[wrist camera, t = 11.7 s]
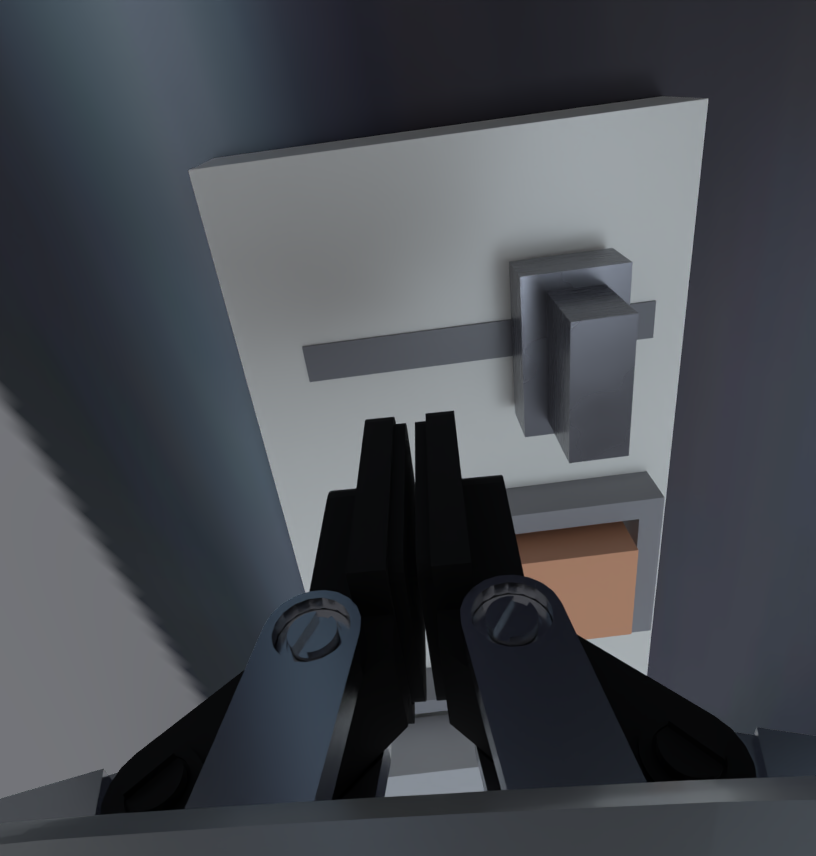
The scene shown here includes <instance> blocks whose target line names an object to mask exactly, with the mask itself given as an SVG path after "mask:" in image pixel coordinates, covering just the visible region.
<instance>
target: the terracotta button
mask: <svg viewBox="0 0 816 856" xmlns="http://www.w3.org/2000/svg"><path fill="white" fill-rule="evenodd" d="M515 535H516V539H517V544H518V549H519V554H520V558H521V563H522V568H523V573H524V576H525V577H530V578H532V579H534V580H537V581H539V582H542V583H543V584H545V585H546V586H547V587H549V588H550V589H551V590H553V591H554V592H555V594H556V595H557V597H558V598H559V599H560V601H561V602H562V604H563V606H564V608H565V610H566V613H567V615H568V617H569V619H570V621H571V623H572V625H573V627H574V629H575V632H576V634H577V635H579V636H581V637H582V638H584V639H594V638H603V637H611V636H620V635H628V634H632V623H633V611H634V599H635V587H636V575H637V563H638V551H639V550H638V548H637V546H636V545H635V543H634V541H633V539H632V537H631V536H630V534H629V532H628V530H627V528H626V527H625V525H624V523H623V521H619V522H611V523H603V524H595V525H587V526H578V527H570V528H562V529H554V530H546V531H538V532H530V533H521V534H515Z"/></svg>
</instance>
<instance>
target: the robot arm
mask: <svg viewBox="0 0 816 856" xmlns="http://www.w3.org/2000/svg"><path fill="white" fill-rule="evenodd" d="M425 417H426V421H421V422H415V479H414V472H413V465H412V458H411V451H410V444H409V437H408V430H407V425H406V423H401V424H396V421H395V418H394V417H385V418H375V419H366V420H365V424H364V432H363V439H362V447H361V455H360V463H359V471H358V479H357V487H356V488H355V489H344V490H333V491H330V492H329V493H328V496H327V501H326V506H325V511H324V516H323V522H322V527H321V532H320V538H319V543H318V548H317V553H316V559H315V564H314V569H313V575H312V580H311V585H310V590H309V592H306V593H303V594H300V595H297V596H295V597H293V598H291V599H290V600H288V601H286V602H284V603H283V604H281V605H280V606H279V607H278V608H277V609H276V610H275V611H274V612H273V613H272V614H271V615H270V617H269V618H268V620H267V622H266V623H265V625H264V627H263V629H262V631H261V634H260V636H259V638H258V640H257V643H256V645H255V647H254V650H253V652H252V654H251V657H250V659H249V661H248V663H247V666H246V668H245V670H244V671H242V672H241V673H240V674H239V675H237V676H236V677H235V678H233V679H232V680H231V681H230V682H228V683H227V684H226V685H224V686H223V687H222V688H220V689H219V690H218V691H217V692H215V693H214V694H213V695H211V696H210V697H209V698H208V699H206V700H205V701H204V702H202V703H201V704H200V705H198V706H197V707H196V708H195V709H193V710H192V711H191V712H190V713H188V714H187V715H186V716H184V717H183V718H182V719H180V720H179V721H178V722H177V723H175V724H174V725H173V726H172V727H170V728H169V729H167V730H166V731H165V732H164V733H162V734H161V735H160V736H158V737H157V738H156V739H155V740H153V741H152V742H151V743H149V744H148V745H147V746H146V747H144V748H143V749H142V750H140V751H139V752H138V753H136V754H135V755H134V756H133V757H132V758H131V759H130V760H129V761H128V762H127V763H126V764H125V765H124V766H123V767H122V768H121V769H120V770H119V772H118V773H115V774H112V775H108V774H107V773H106V771H105V770H104V769H101V770H97V771H94V772H90V773H87V774H84V775H80V776H77V777H74V778H70V779H66V780H63V781H59V782H56V783H53V784H49V785H46V786H42V787H39V788H35V789H32V790H28V791H25V792H21V793H18V794H15V795H11V796H8V797H4V798H1V799H0V856H816V736H813V735H807V734H800V733H793V732H786V731H779V730H772V729H766V728H759V727H756V731H755V734H754V735H751V734H744V733H738V732H734V731H733V730H732V729H731V728H730V727H728V726H727V725H726V724H724V723H723V722H722V721H720V720H719V719H718V718H716V717H715V716H714V715H712V714H710V713H709V712H707V711H705V710H704V709H702V708H700V707H698V706H697V705H695V704H693V703H692V702H690V701H688V700H687V699H685V698H683V697H682V696H680V695H678V694H677V693H675V692H673V691H672V690H670V689H668V688H667V687H665V686H663V685H661V684H660V683H658V682H656V681H655V680H653V679H651V678H650V677H648V676H646V675H645V674H643V673H641V672H640V671H638V670H636V669H635V668H633V667H631V666H629V665H628V664H626V663H624V662H623V661H621V660H619V659H618V658H616V657H614V656H613V655H611V654H609V653H608V652H606V651H604V650H603V649H601V648H599V647H598V646H596V645H594V644H592V643H591V642H589V641H587V640H586V639H584V638H582V637H581V636H579V635H577V634H576V632H575V629H574V627H573V625H572V623H571V621H570V619H569V617H568V615H567V613H566V610H565V608H564V606H563V604H562V602H561V601H560V599H559V598H558V597H557V595H556V594H555V592H554V591H553V590H551V589H550V588H549V587H547V586H546V585H545V584H543V583H542V582H539V581H537V580H534V579H532V578H530V577H525V576H524V573H523V568H522V563H521V558H520V554H519V549H518V544H517V539H516V535H515V530H514V525H513V521H512V516H511V511H510V506H509V502H508V497H507V492H506V487H505V483H504V479H503V476H502V475H494V476H483V477H473V478H462V476H461V467H460V458H459V450H458V441H457V432H456V423H455V415H454V411H445V412H435V413H426V414H425ZM425 630H426V636H427V643H428V649H429V656H430V662H431V668H432V675H433V681H434V688H435V694H436V700H437V701H442V700H446V702H447V709H448V716H449V723H450V724H451V725H452V726H453V727H454V728H455V729H457V730H458V731H459V732H460V733H462V734H463V735H464V736H465V737H466V738H468V739H469V740H470V741H471V742H472V743H474V745H475V754H476V759H477V763H478V767H479V771H480V775H481V779H482V783H483V787H484V791H480V792H463V793H446V794H428V795H411V796H393V797H385V792H386V787H387V781H388V776H389V770H390V764H391V743H392V742H393V741H394V740H395V739H396V738H397V737H398V736H399V735H400V734H401V733H402V732H403V731H404V730H405V729H406V728H407V727H408V724H415V702H426V700H427V683H426V638H425Z"/></svg>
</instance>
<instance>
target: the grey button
mask: <svg viewBox="0 0 816 856" xmlns="http://www.w3.org/2000/svg"><path fill="white" fill-rule="evenodd" d="M480 791H483V783H482V779H481V775H480V771H479V767H478V763H477V759H476V754H475V745H474V743H472V742H471V741H470V740H469V739H468V738H466V737H465V736H464V735H463V734H462V733H460V732H459V731H458V730H457V729H455V728H454V727H453V726H452V725H451V724H450V723H449V716H448V714H447V715H438V716H430V717H421V718H415V724H408V727H407V728H406V729H405V730H404V731H403V732H402V733H401V734H400V735H399V736H398V737H397V738H396V739H395V740H394V741H393V742H392V743H391V764H390V770H389V776H388V781H387V787H386V792H385V797H393V796H411V795H428V794H446V793H463V792H480Z"/></svg>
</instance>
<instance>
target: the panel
mask: <svg viewBox="0 0 816 856" xmlns="http://www.w3.org/2000/svg"><path fill="white" fill-rule="evenodd" d="M707 108H708V99H707V98H689V97H670V96H660V97H653V98H645V99H638V100H631V101H624V102H616V103H609V104H602V105H595V106H587V107H580V108H573V109H566V110H558V111H551V112H544V113H537V114H529V115H522V116H515V117H508V118H500V119H493V120H486V121H479V122H471V123H464V124H457V125H450V126H442V127H435V128H428V129H421V130H413V131H406V132H399V133H392V134H384V135H377V136H370V137H363V138H355V139H348V140H341V141H334V142H326V143H319V144H312V145H305V146H297V147H290V148H283V149H276V150H268V151H261V152H254V153H247V154H239V155H232V156H225V157H218V158H213V159H211V160H209V161H206V162H204V163H202V164H200V165H198V166H196V167H194V168H192V169H190V170H188V172H189V175H190V179H191V183H192V186H193V190H194V193H195V197H196V201H197V204H198V208H199V211H200V215H201V219H202V222H203V226H204V229H205V233H206V237H207V240H208V244H209V247H210V251H211V255H212V258H213V262H214V265H215V269H216V273H217V276H218V280H219V283H220V287H221V291H222V294H223V298H224V301H225V305H226V309H227V312H228V316H229V319H230V323H231V327H232V330H233V334H234V337H235V341H236V345H237V348H238V352H239V355H240V359H241V363H242V366H243V370H244V373H245V377H246V381H247V384H248V388H249V391H250V395H251V399H252V402H253V406H254V409H255V413H256V416H257V420H258V424H259V427H260V431H261V434H262V438H263V442H264V445H265V449H266V452H267V456H268V460H269V463H270V467H271V470H272V474H273V478H274V481H275V485H276V488H277V492H278V496H279V499H280V503H281V506H282V510H283V514H284V517H285V521H286V524H287V528H288V532H289V535H290V539H291V542H292V546H293V550H294V553H295V557H296V560H297V564H298V568H299V571H300V575H301V578H302V582H303V586H304V589H305V593H306V592H309V590H310V585H311V580H312V575H313V569H314V564H315V559H316V553H317V548H318V543H319V538H320V532H321V527H322V522H323V516H324V511H325V506H326V501H327V496H328V493H329V492H330V491H333V490H344V489H355V488H356V487H357V479H358V471H359V463H360V455H361V447H362V439H363V432H364V424H365V420H366V419H375V418H385V417H394V418H395V421H396V424H401V423H406V425H407V430H408V437H409V444H410V451H411V458H412V465H413V472H414V479H415V422H421V421H426V417H425V414H426V413H435V412H445V411H454V415H455V423H456V432H457V441H458V450H459V458H460V467H461V476H462V478H473V477H483V476H494V475H502V476H503V479H504V483H505V487H506V492H507V497H508V502H509V506H510V511H511V516H512V521H513V525H514V530H515V534H521V533H530V532H538V531H546V530H554V529H562V528H570V527H578V526H587V525H595V524H603V523H611V522H619V521H623V523H624V525H625V527H626V528H627V530H628V532H629V534H630V536H631V537H632V539H633V541H634V543H635V545H636V546H637V548H638V550H639V551H638V563H637V575H636V587H635V599H634V611H633V623H632V634H628V635H620V636H611V637H603V638H594V639H586V640H587V641H589V642H591V643H592V644H594V645H596V646H598V647H599V648H601V649H603V650H604V651H606V652H608V653H609V654H611V655H613V656H614V657H616V658H618V659H619V660H621V661H623V662H624V663H626V664H628V665H629V666H631V667H633V668H635V669H636V670H638V671H640V672H641V673H643V674H645V675H646V676H647V669H648V660H649V650H650V641H651V632H652V622H653V613H654V604H655V594H656V585H657V576H658V566H659V557H660V547H661V538H662V529H663V519H664V510H665V501H666V491H667V482H668V473H669V463H670V454H671V445H672V435H673V426H674V416H675V407H676V398H677V388H678V379H679V370H680V360H681V351H682V342H683V332H684V323H685V314H686V304H687V295H688V285H689V276H690V267H691V257H692V248H693V239H694V229H695V220H696V211H697V201H698V192H699V182H700V173H701V164H702V154H703V145H704V136H705V126H706V117H707ZM608 248H614V249H615V250H616V251H618V252H619V253H621V254H622V255H623V256H625V257H626V258H628V259H629V260H630V261H632V262H633V264H632V281H631V298H630V306H631V307H632V308H633V309H634V310H635V311H636V312H637V313H638V326H637V341H636V356H635V371H634V386H633V401H632V416H631V430H630V445H629V456H623V457H615V458H607V459H599V460H591V461H583V462H575V463H569V462H568V460H567V458H566V456H565V454H564V452H563V450H562V448H561V446H560V444H559V442H558V440H557V438H556V436H555V434H547V435H539V436H531V437H525V436H524V434H523V431H522V429H521V426H520V424H519V421H518V419H517V417H516V414H515V402H514V377H513V352H512V327H511V302H510V277H509V262H510V261H517V260H525V259H532V258H540V257H547V256H555V255H562V254H570V253H578V252H585V251H593V250H600V249H608ZM425 638H426V683H427V700H426V702H415V718H421V717H430V716H438V715H447V714H448V709H447V702H446V700H442V701H437V700H436V694H435V688H434V681H433V675H432V668H431V662H430V656H429V649H428V643H427V636H426V630H425Z"/></svg>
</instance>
